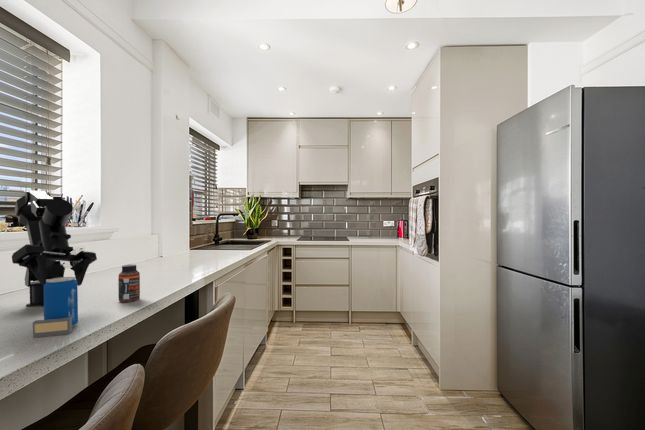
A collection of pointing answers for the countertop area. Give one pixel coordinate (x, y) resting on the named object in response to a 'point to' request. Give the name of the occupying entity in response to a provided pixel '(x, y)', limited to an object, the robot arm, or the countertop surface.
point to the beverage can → (61, 299)
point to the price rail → (52, 327)
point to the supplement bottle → (129, 284)
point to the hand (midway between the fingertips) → (62, 284)
